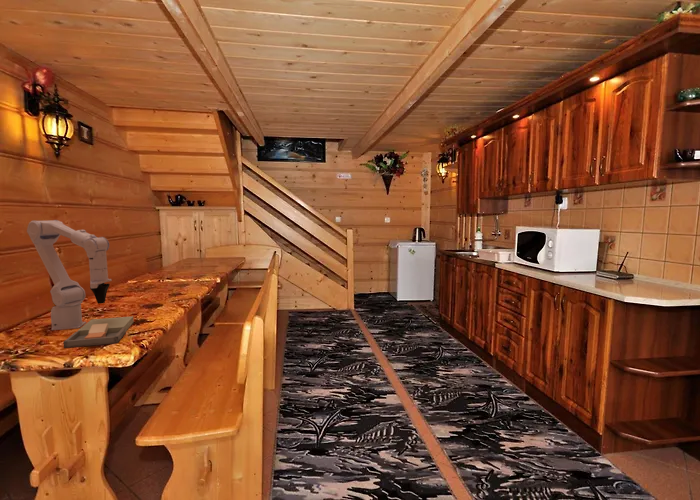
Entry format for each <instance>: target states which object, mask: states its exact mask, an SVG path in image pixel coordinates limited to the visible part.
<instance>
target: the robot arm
mask: <svg viewBox="0 0 700 500" xmlns="http://www.w3.org/2000/svg"><path fill="white" fill-rule="evenodd" d="M26 233H27V235H28V236H29V239H30V241H31V242H32V244H33V245H34V247H35V250H36V252H37V253H38V256H39V257H40V259H41V261H42V264H43V266H44V267H45V269H46V271H47V273H48V275H49V277H50V279H51V281H52V283H53V284H54V285H53V286H52V288H51V289H50V291H49V293H50V295H51V300H52V303H53V304H54V306H52V307H51V310H50V321H51V330H50V331H58V330H70V329H71V330H72V329H80V328H81V327H83V326H84V325H85V324H86V323H87V321H83V316H82V314H83V313H82V304H83V301H84V300H85V298H86V290H85V289H84V288H83V287H82V286H81V285H80V284H79V282H78V281H75V280H72V279H71V278H70V276H69V274H68V272H67V269H66V268H65V266H64V265H63V262H62V261H61V258H60V257H59V255H58V253H57V250H56V249H55V247H54V244H55V243H57V241H58V240H59V238H60V236H63V237H65V238H67V239H70V241H71V243H72V244H75V245H77V246H79V247H81V248H83V249H84V251H85V253H86V256H87V258H88V267H89V278H90V281H89V283H90V284H89V285H90V286H89V289H90V290H91V292H92V293H93V294H94V297H95V299H96V303H97V304H98V305H101V304H105V303H106V298H107V294H108V290H109V287H110V286H111V284H110V283H108V282H112V281H113V280H112V278H109V272H108V260H107V259H108V257H107V251H108V250H109V249H110V242H109V240H108V238H106V237H105V236H99V237H97V236H96V235H95V234H91V233H89V232H88V231H87V230H85V229H77V230H76V229H73V228H71V227H70V226H67V225H66V224H65V223H64V222H63V221H60V220H58V219H53V220H50V219H48V220H31V221H29V223H28V225H27V229H26Z"/></svg>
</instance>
